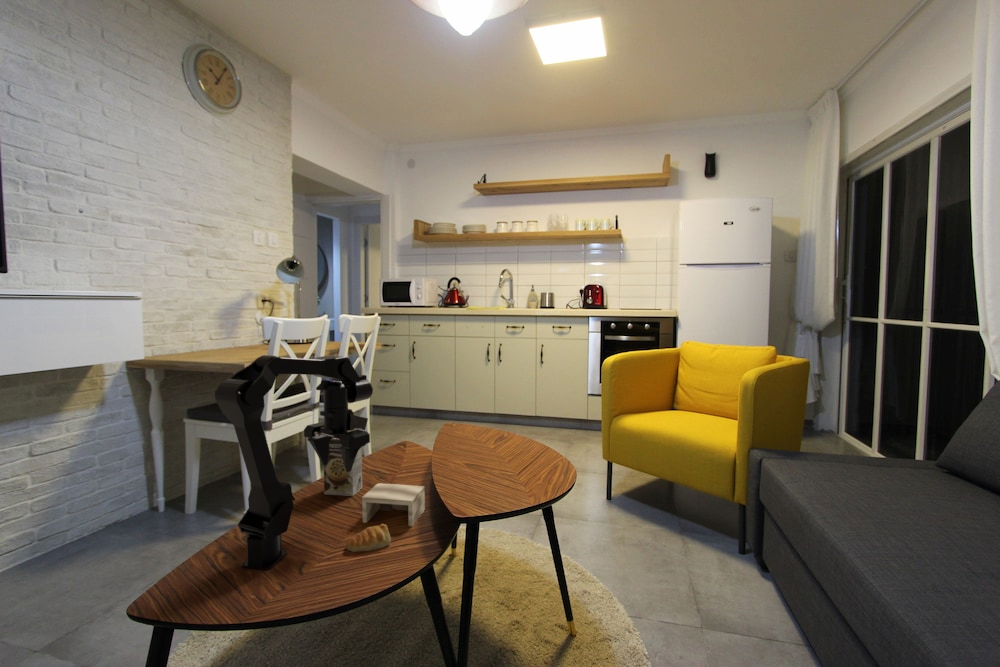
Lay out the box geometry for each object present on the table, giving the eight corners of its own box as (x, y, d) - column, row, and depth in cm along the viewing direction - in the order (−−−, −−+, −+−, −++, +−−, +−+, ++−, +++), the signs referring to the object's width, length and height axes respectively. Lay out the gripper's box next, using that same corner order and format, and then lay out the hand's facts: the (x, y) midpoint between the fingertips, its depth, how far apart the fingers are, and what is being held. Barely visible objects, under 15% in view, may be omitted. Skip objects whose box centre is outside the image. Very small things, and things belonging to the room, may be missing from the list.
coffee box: (323, 495, 128) (321, 439, 127) (334, 486, 134) (333, 433, 133) (353, 496, 127) (352, 440, 126) (363, 487, 133) (362, 434, 132)
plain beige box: (412, 526, 109) (412, 500, 109) (362, 522, 111) (362, 497, 111) (424, 510, 118) (424, 486, 118) (378, 506, 120) (378, 483, 120)
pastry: (350, 558, 96) (349, 541, 96) (343, 545, 101) (342, 528, 101) (393, 546, 101) (392, 529, 100) (383, 533, 106) (383, 518, 106)
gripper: (386, 405, 114) (387, 466, 114) (339, 397, 124) (339, 453, 124) (350, 413, 104) (351, 479, 105) (302, 404, 114) (303, 464, 115)
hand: (336, 468), depth 112 cm, fingers open, 9 cm apart
